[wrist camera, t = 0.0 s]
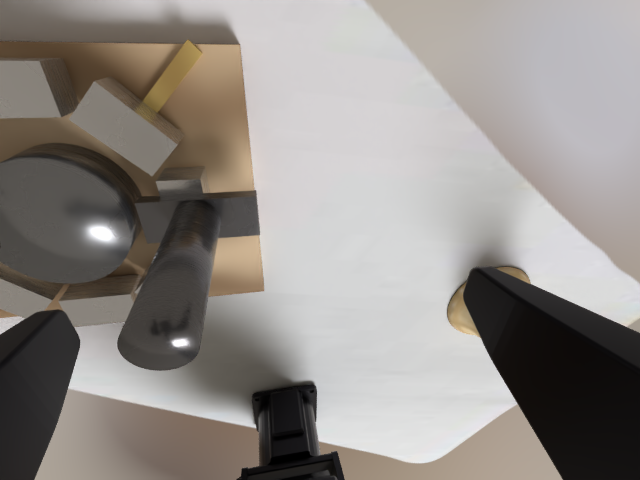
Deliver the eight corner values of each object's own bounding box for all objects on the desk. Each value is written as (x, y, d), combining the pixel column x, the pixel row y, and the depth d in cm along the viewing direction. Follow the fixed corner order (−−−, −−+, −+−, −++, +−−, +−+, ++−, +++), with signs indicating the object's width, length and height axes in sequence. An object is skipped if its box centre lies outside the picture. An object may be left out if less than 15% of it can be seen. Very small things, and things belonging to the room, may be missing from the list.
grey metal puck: (158, 248, 21) (145, 277, 19) (38, 258, 20) (8, 289, 18) (125, 140, 18) (104, 158, 15) (-23, 145, 16) (-73, 164, 14)
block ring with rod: (266, 287, 24) (274, 446, 15) (-4, 314, 21) (-203, 530, 12) (244, 59, 16) (233, 91, 7) (-187, 56, 14) (-1159, 105, 4)
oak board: (263, 282, 25) (264, 293, 24) (-14, 309, 23) (-27, 323, 21) (239, 39, 17) (238, 40, 16) (-213, 33, 14) (-253, 33, 13)
